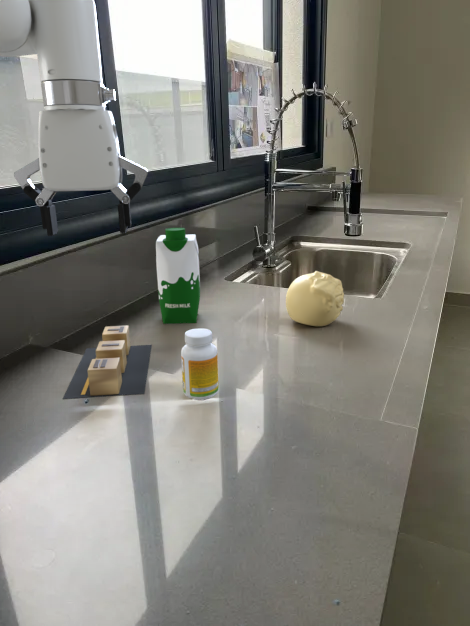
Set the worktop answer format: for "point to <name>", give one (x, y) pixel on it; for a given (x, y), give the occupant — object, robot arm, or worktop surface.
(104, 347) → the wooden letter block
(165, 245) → the milk carton
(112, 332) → the small cardboard box
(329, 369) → the worktop surface
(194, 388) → the supplement bottle
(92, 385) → the striped cardboard box
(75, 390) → the word mat
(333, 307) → the pale yellow lumpy ball
